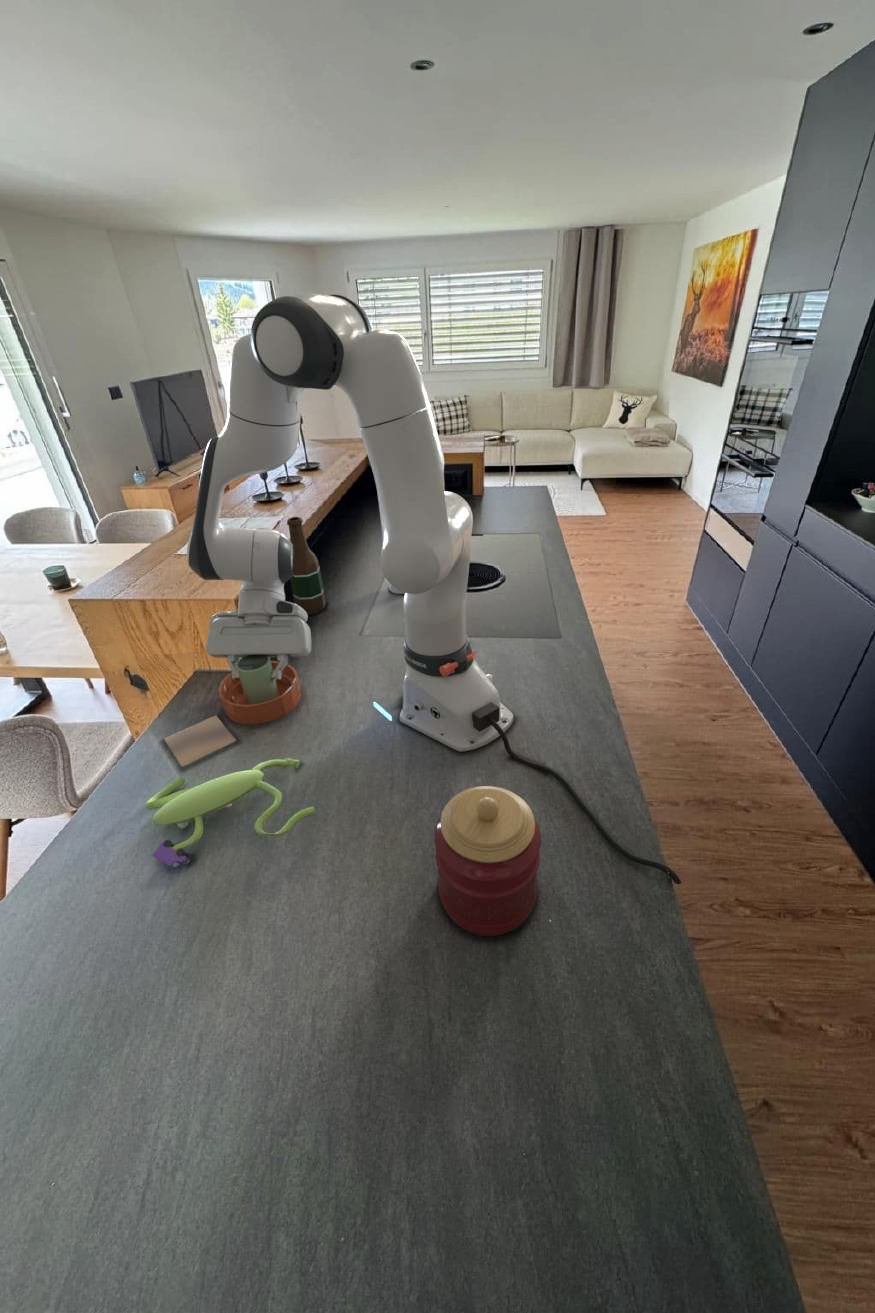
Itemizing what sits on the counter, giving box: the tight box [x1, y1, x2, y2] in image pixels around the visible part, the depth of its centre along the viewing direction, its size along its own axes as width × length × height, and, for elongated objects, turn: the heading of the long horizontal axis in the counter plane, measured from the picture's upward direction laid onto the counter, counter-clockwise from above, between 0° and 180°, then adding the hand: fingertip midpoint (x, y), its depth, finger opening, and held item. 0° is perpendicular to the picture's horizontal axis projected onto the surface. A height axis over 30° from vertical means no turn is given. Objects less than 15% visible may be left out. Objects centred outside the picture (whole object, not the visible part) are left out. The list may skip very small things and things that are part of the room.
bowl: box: [218, 660, 302, 726], centre depth 110 cm, size 15×15×5 cm
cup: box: [236, 655, 280, 705], centre depth 109 cm, size 6×6×9 cm
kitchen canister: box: [434, 785, 542, 937], centre depth 69 cm, size 13×13×18 cm
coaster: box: [163, 714, 237, 768], centre depth 102 cm, size 10×10×1 cm
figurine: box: [145, 757, 316, 869], centre depth 85 cm, size 18×27×6 cm
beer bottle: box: [286, 516, 326, 615], centre depth 138 cm, size 8×8×24 cm
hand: (256, 679), depth 108 cm, fingers closed on cup, 6 cm apart
